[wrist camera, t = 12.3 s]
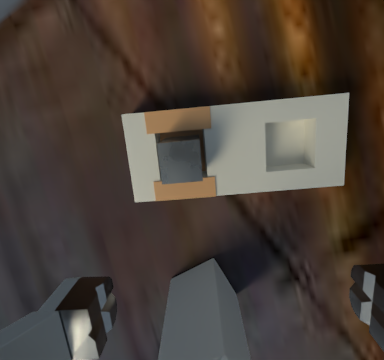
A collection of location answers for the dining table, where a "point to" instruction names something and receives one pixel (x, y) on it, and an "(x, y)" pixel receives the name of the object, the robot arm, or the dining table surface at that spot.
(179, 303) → the milk carton
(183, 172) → the dark gray block
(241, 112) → the socket rail
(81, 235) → the dining table surface
